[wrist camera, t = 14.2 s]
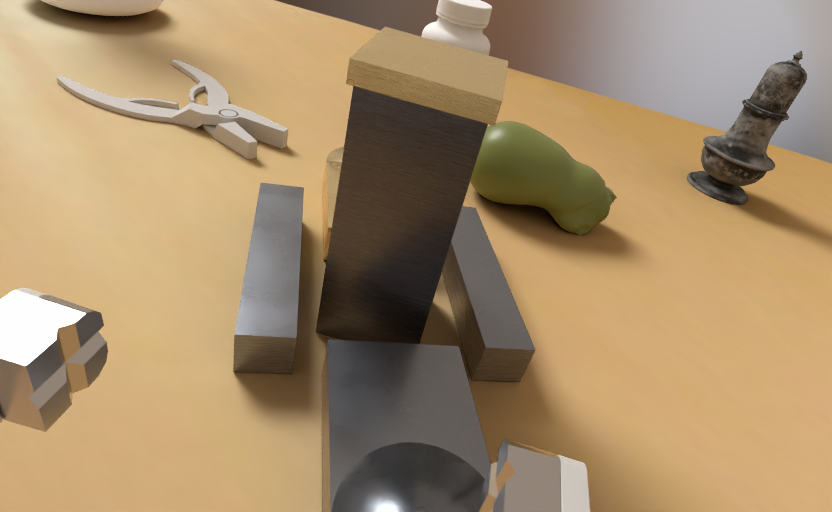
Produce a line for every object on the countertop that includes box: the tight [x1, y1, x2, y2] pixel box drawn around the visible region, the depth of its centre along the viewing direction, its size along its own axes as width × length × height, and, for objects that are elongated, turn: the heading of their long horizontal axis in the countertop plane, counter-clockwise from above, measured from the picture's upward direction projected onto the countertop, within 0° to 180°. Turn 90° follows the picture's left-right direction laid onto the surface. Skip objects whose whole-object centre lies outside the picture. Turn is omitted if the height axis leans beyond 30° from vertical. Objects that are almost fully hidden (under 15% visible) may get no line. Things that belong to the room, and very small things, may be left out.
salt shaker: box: [687, 51, 807, 205], centre depth 44 cm, size 6×6×12 cm
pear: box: [470, 121, 617, 236], centre depth 36 cm, size 6×5×10 cm
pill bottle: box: [422, 0, 492, 55], centre depth 43 cm, size 6×5×10 cm
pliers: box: [57, 60, 288, 159], centre depth 37 cm, size 10×2×15 cm
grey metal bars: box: [233, 183, 535, 512], centre depth 22 cm, size 21×12×2 cm, turn 8°
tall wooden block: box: [316, 27, 508, 344], centre depth 22 cm, size 5×5×12 cm
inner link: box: [323, 147, 344, 260], centre depth 31 cm, size 10×5×2 cm, turn 8°
